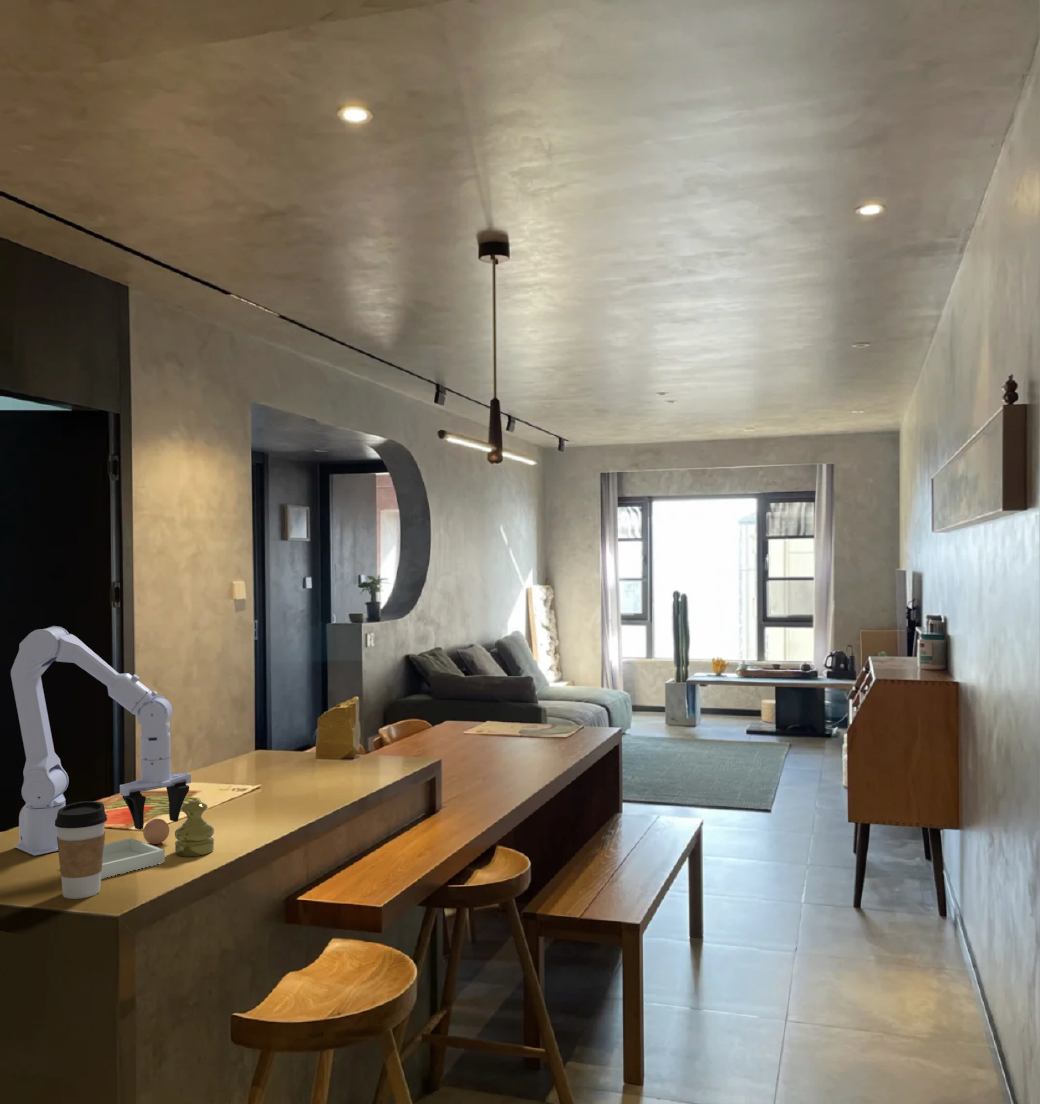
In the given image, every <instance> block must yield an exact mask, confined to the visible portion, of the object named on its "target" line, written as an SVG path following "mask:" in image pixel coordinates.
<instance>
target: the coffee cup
mask: <svg viewBox="0 0 1040 1104" xmlns="http://www.w3.org/2000/svg"><path fill="white" fill-rule="evenodd" d="M107 821H108V815H107V813H106V811H105V804H104V803H103V802H102V801H101V802H100V801H94V800H93V801H92V800H89V801H88V800H87V801H77V802H72V803H69V804H67V805H66V804H65V806H64V807H62V808H61V809H59V810H58V813H57V819H56V820H55V826H56V827H57V831H58V836H57V844H58V860H59V861H58V862H59V871H60V877H61V879H60V880H61V889H62V896H63V898H65V899H69V900H73V899H74V900H76V899H77V900H78V899H79V900H80V899H86V898H90V897H93V896H96V895H98V894H99V893H100V892H99V891H101V881H102V879H101V871H102V861H103V851H104V844H105V839H106V831H105V823H106V822H107ZM97 893H98V894H97Z"/></svg>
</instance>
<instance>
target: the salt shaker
mask: <svg viewBox="0 0 1040 1104" xmlns="http://www.w3.org/2000/svg"><path fill="white" fill-rule="evenodd" d="M208 807H209V806H208V804H207V803H205V802H202V801H200V800H198V799H197V800H195V799H194V800H190V801H189V802H187V803H185V804H183V805H182V807H181V810H180V811H181V812H183V813H184V814H185V815H186V817H187V818H186V820H185V821H184V822H183V823H182V825H180V826H179V827H177V829H175V832H174V836H175V839H176V841H175V842H174V845H175V846H174V847H175V849H174V850H175V852H174V853H175V855H177V856H179V855H180V857H184V856H188V858H191V856H194V857H200V855H201V856H204V854H205V855H208V854H211V853H212V852H213V851H214V848H215V845H214V843H215V838H214V837H212V836H213V835H214V834H215V833H214V832H215V828H214V827H213V826H212V825H211V824H210V823H208V822H207V821H205V819H203V817H202V815H203V813H204V812H205V811H206V810H207V809H208ZM207 853H208V854H207Z"/></svg>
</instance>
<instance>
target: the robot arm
mask: <svg viewBox="0 0 1040 1104" xmlns="http://www.w3.org/2000/svg"><path fill="white" fill-rule="evenodd" d="M17 652H18V653H17V655H16V657H15V659H14V661H13V662H14V663H13V664H12V667H11V669H10V677H11V683H12V690H13V694H14V700H15V705H16V710H17V715H18V720H19V726H20V727H19V728H20V733H21V739H22V742H23V748H24V754H25V764H24V767H23V772H22V774H23V783H22V787H21V796H22V797H21V798H22V799H23V800H24V802H25V804H24V805H23V807H21V809H20V811H19V816H18V833H19V834H18V843H16V844H14V849H15V848H16V849H18V850H20V851H22V852H25V853H28V854H29V855H31V856H40V855H44V854H48V853H53V852H57V851H58V844H57V836H58V831H57V827H56V826H55V820H56V819H57V813H58V810H59V809H61V808H62V807H64V806H66V798H65V795H64V793H65V791H66V790H67V788H68V787H69V782H70V781H69V778H70V777H69V776H68V773H67V772H66V770H65V769H64V768H63V766H62V763H61V758H60V757H59V756H58V754H56V752H55V748H54V747H55V746H54V741H53V737H52V731H51V726H50V720H49V714H48V709H47V704H46V698H45V693H44V688H43V681H42V675H44V673H45V671H46V670H47V669H48V668H49V667H50V666H51V664H52V663H53V662H58V663H59V662H61V663H73V664H75V665H76V666H78V667H79V668H81V669H82V670H84V671H86V672H87V673H88V674H89V675H90V676H92V677H94V679H96V680H97V681H100V682H101V683H102V684H103V685H105V686H106V687H107V693H108V694H107V695H108V697H110V698H111V699H113V700H114V701H115V702H116V703H118V704H119V705H120V706H122V707H123V708H124V709H125V710H127V711H128V712H129V713H131V714H132V715H135V716H136V720H137V722H138V724H139V725H140V727H141V729H140V732H141V734H140V779H138V780H134V781H131V782H128V783H124V784H119V795H120V796H122V799H123V801H124V802H125V804H126V805H127V808H128V810H129V812H130V815H131V817H132V821H133V826H134V829H136V830H139V831H141V830H144V827H145V825H144V824H145V823H144V820H145V819H144V817H145V816H144V815H145V814H144V811H145V804H146V801H147V800H146V799H147V797H146V795H145V796H144V795H143V794H142V793H143V792H149V791H153V790H158V789H164V788H165V789H166V792H167V798H168V817H169V821H172V822H178V821H179V817H180V814H181V811H182V810H181V807H182V806H183V805H184V804H183V803H184V801H185V798H186V796H187V795H188V793H189V791H190V785H189V784H191V783H192V774H191V773H188V772H183V773H182V772H181V773H175V774H174V773H173V774H172V758H171V757H172V756H171V755H172V754H171V753H172V750H171V749H172V746H171V745H172V744H171V742H172V741H171V739H172V737H171V725H170V723H171V722H170V721H169V720H170V719H171V718H172V715H173V709H174V708H173V706H172V703H171V702H170V700H168V698H167V697H165V696H162V695H158V694H159V693H158V692H157V691H156V690H153V691H152V690H151V689H150V688H148V687H147V686H146V685H145V684H143V683H142V682H141V681H139V680H140V678H141V677H139V676H138V675H137V674H133V675H132V674H131V673H129V672H128V673H127V672H126V673H125V672H124V673H119V672H118V671H116V670H115V669H114V667H112V666H111V665H109V664H108V663H107V662H106V661H105V660H104V659H102V657H100V655H98V654H97V653H95V652H94V651H93V650H92V649H91V648H90V647H88V646H87V645H86V644H85V643H84V642H83V641H82V640H81V639H79V638H78V637H77V636H76V635H74V634H72V633H69V632H68V630H67V629H65V628H63V627H62V626H56V625H52V626H49V627H47V628H43V629H41V628H40V629H34V630H33V631H31V632H30V633H28V635H27V636H25V638H24V639H22V641H21V642H20V643H19V647H18V651H17Z"/></svg>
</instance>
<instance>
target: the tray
mask: <svg viewBox="0 0 1040 1104" xmlns="http://www.w3.org/2000/svg"><path fill="white" fill-rule="evenodd" d="M165 853H166V851H165V849H163V848H160V847H158V846H155V845H153V844H150V843H148V842H145V841H144V842H143V841H141V840H138V839H135V838H134V837H133V838H132V837H131V838H125V839H122V840H117V841H112V842H108V843H104V851H103V861H102V871H101V880H103V879H104V880H105V879H108V878H112V877H115V875H116V876H118V875H117V874H120V875H124V874H127V873H126V872H128V873H130V872H129V871H132V872H134V871H133V870H136V871H139V870H138V869H140V870H142V869H141V868H143V869H146V868H145V867H147V868H149V867H148V866H151V867H154V865H155V866H158V865H157V864H159V863H162V862H165V861H166V860H165V858H166V857H165ZM165 863H166V862H165ZM159 865H160V864H159ZM111 876H112V877H111ZM107 877H108V878H107Z"/></svg>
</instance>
